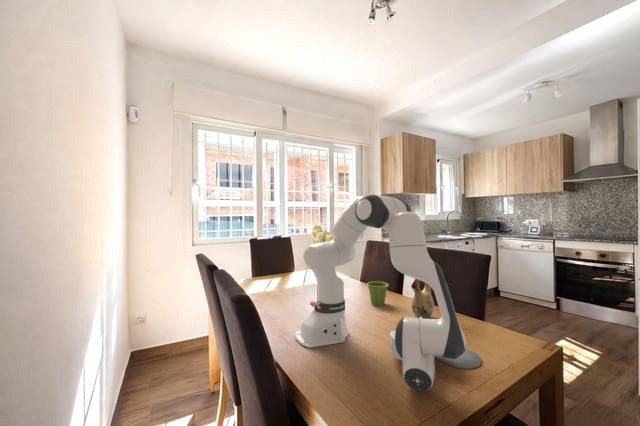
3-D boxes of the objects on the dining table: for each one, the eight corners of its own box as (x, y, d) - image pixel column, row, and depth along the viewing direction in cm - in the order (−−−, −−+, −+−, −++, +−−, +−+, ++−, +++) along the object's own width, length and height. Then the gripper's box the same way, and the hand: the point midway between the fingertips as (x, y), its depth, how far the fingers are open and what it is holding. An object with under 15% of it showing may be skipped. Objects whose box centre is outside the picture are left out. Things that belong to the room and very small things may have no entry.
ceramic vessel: (422, 326, 116) (421, 270, 117) (404, 320, 124) (403, 267, 124) (441, 317, 126) (440, 265, 127) (424, 312, 134) (423, 263, 134)
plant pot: (391, 307, 141) (390, 286, 141) (369, 307, 141) (368, 286, 141) (386, 300, 152) (385, 281, 153) (365, 300, 153) (365, 281, 153)
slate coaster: (462, 374, 81) (462, 372, 81) (423, 352, 95) (423, 350, 95) (490, 361, 88) (490, 359, 88) (450, 342, 101) (450, 341, 101)
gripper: (455, 347, 80) (451, 329, 93) (387, 336, 88) (392, 321, 101) (455, 368, 80) (451, 347, 93) (387, 355, 88) (392, 337, 101)
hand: (420, 333), depth 97 cm, fingers open, 5 cm apart
